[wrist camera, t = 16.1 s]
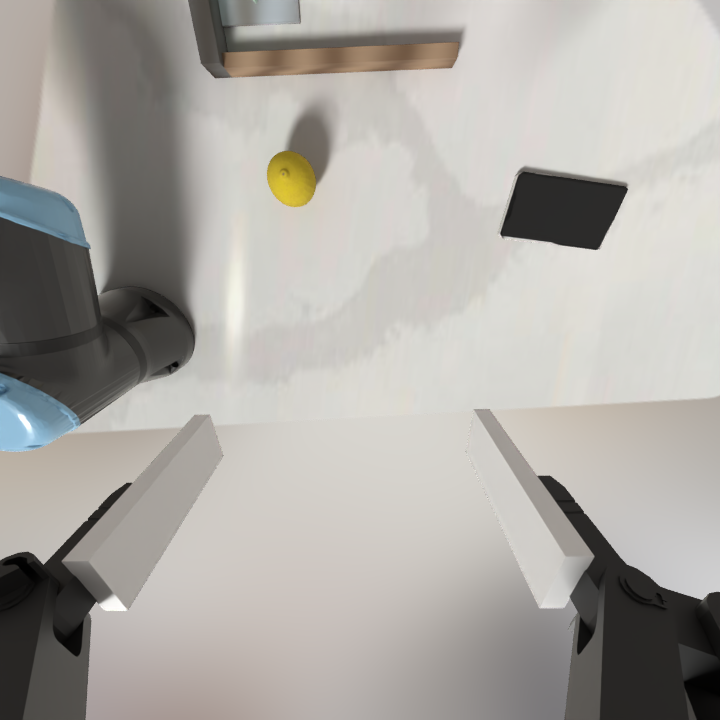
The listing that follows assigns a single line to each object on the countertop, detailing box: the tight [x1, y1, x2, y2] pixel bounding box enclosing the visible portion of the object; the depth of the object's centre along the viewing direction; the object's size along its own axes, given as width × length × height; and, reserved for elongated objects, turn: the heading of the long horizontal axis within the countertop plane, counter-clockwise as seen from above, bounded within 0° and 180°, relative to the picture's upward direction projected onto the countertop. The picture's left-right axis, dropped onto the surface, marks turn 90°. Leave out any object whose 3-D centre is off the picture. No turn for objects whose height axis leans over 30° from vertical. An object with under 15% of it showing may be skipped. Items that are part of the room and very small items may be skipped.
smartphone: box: [498, 172, 628, 250], centre depth 37 cm, size 8×1×15 cm
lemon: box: [267, 151, 316, 207], centre depth 32 cm, size 6×6×8 cm
